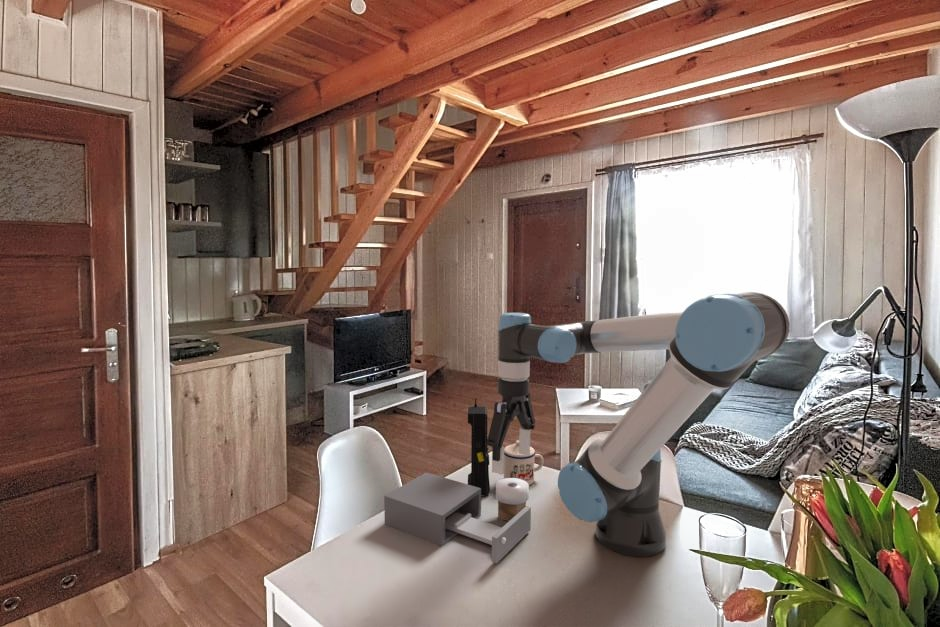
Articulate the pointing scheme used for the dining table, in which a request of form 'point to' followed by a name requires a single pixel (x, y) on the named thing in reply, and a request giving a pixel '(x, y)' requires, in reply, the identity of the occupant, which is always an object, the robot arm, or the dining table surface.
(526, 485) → the white domed disc
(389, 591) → the dining table surface
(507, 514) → the brown block
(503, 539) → the pull-out drawer
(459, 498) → the gray drawer box
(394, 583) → the dining table surface
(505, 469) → the teacup with lid
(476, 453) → the portable radio
